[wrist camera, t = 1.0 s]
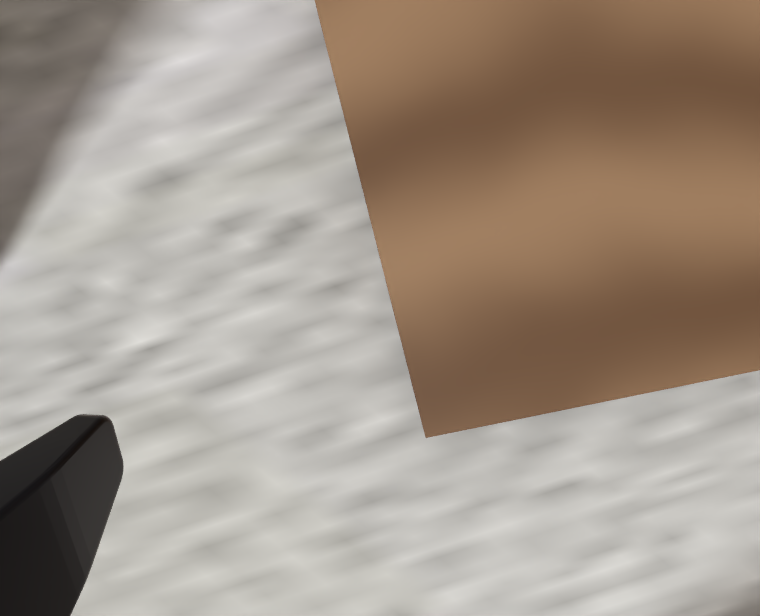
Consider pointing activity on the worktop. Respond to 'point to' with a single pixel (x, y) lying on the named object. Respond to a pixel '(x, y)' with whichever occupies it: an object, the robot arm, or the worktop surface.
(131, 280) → the worktop surface
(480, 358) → the shelf board
